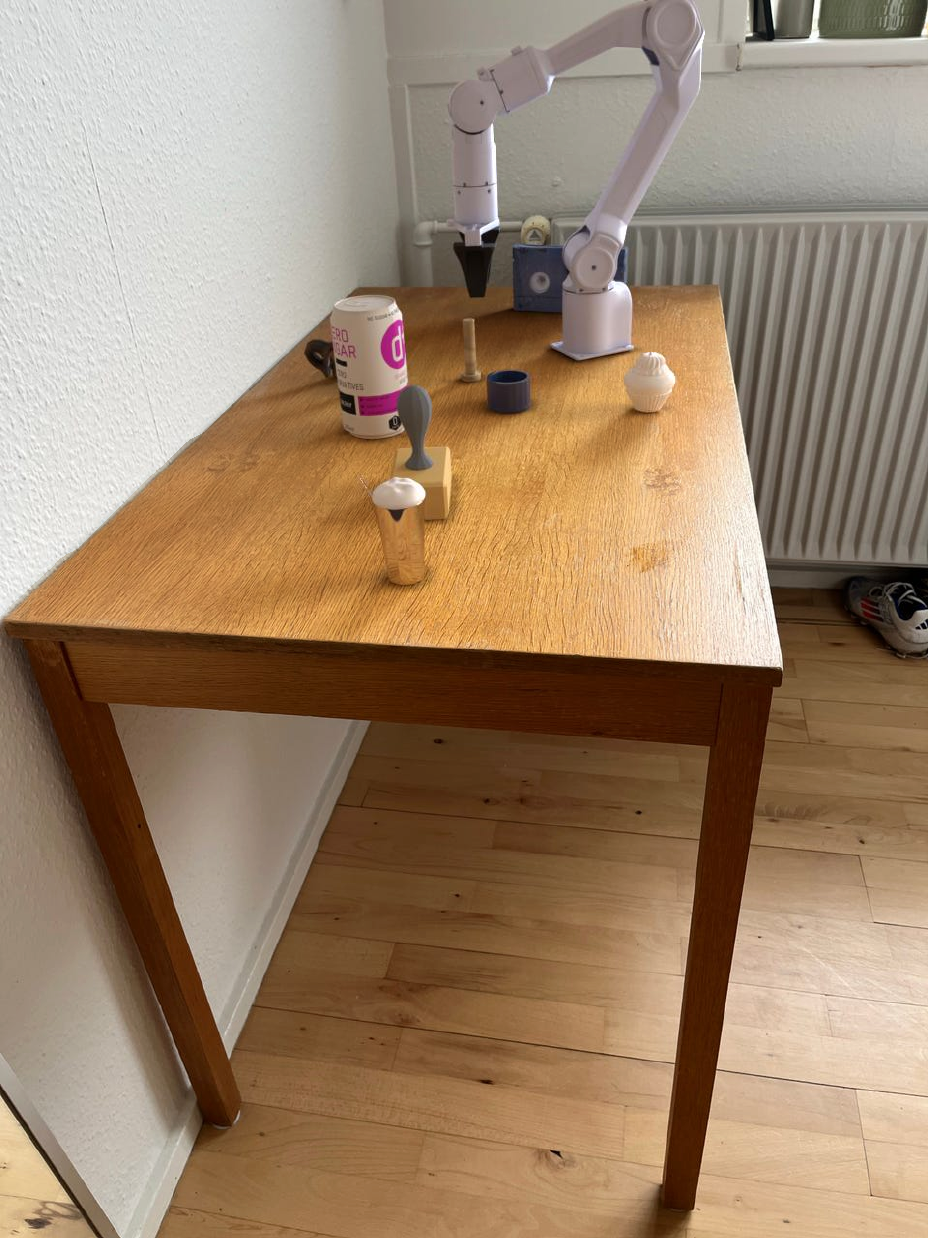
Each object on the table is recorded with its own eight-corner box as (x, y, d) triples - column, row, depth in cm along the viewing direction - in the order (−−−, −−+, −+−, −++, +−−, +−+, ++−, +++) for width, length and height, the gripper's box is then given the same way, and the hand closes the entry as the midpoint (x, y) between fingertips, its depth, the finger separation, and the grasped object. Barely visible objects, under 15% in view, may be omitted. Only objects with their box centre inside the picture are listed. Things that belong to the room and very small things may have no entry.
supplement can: (422, 419, 118) (412, 295, 110) (390, 444, 111) (377, 314, 103) (365, 412, 121) (352, 291, 113) (331, 436, 115) (314, 310, 106)
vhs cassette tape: (626, 310, 154) (629, 245, 148) (622, 315, 151) (624, 250, 146) (518, 305, 160) (517, 243, 154) (512, 310, 157) (511, 247, 152)
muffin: (679, 402, 118) (684, 346, 114) (664, 419, 114) (667, 362, 110) (632, 396, 121) (634, 341, 117) (614, 413, 116) (617, 356, 112)
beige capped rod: (475, 374, 131) (473, 315, 127) (484, 379, 129) (481, 320, 125) (458, 378, 130) (455, 318, 126) (466, 383, 128) (463, 323, 124)
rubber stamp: (398, 479, 103) (388, 370, 97) (451, 477, 103) (444, 368, 96) (390, 521, 95) (378, 405, 88) (448, 518, 95) (440, 402, 88)
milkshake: (371, 566, 87) (360, 465, 82) (430, 561, 87) (422, 460, 82) (372, 592, 83) (359, 488, 78) (433, 587, 84) (424, 482, 78)
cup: (518, 395, 123) (517, 366, 121) (538, 408, 119) (538, 378, 117) (480, 403, 121) (479, 374, 119) (499, 416, 117) (498, 386, 115)
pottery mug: (391, 370, 136) (398, 326, 129) (383, 419, 131) (391, 377, 124) (306, 353, 134) (310, 308, 127) (296, 403, 130) (299, 359, 123)
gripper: (450, 176, 132) (455, 277, 139) (438, 194, 120) (445, 304, 127) (501, 174, 131) (503, 276, 138) (495, 191, 119) (498, 302, 126)
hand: (479, 289), depth 133 cm, fingers open, 7 cm apart
